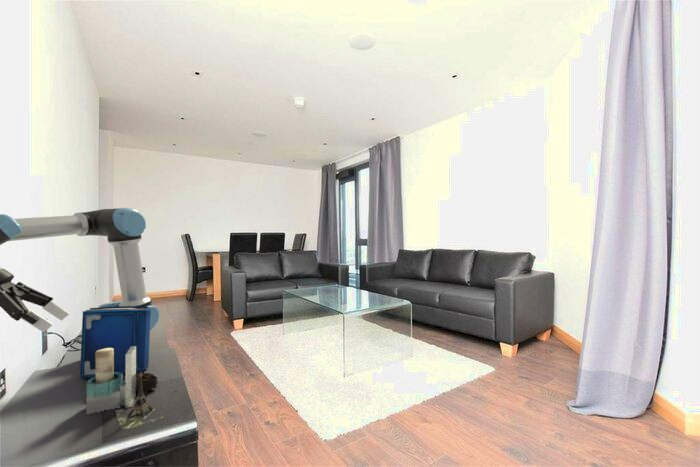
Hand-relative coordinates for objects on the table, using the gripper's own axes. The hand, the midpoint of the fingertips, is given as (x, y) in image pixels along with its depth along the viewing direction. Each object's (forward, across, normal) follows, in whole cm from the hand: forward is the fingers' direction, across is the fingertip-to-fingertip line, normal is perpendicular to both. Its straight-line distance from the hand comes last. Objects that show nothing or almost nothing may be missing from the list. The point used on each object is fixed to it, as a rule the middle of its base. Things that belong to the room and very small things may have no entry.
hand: (57, 322), depth 96 cm
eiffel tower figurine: (+35, +17, -3) cm, 39 cm away
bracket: (+28, +7, -8) cm, 30 cm away
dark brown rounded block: (+31, -1, -6) cm, 32 cm away
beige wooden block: (+24, +7, -6) cm, 25 cm away
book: (+26, -21, -11) cm, 36 cm away
